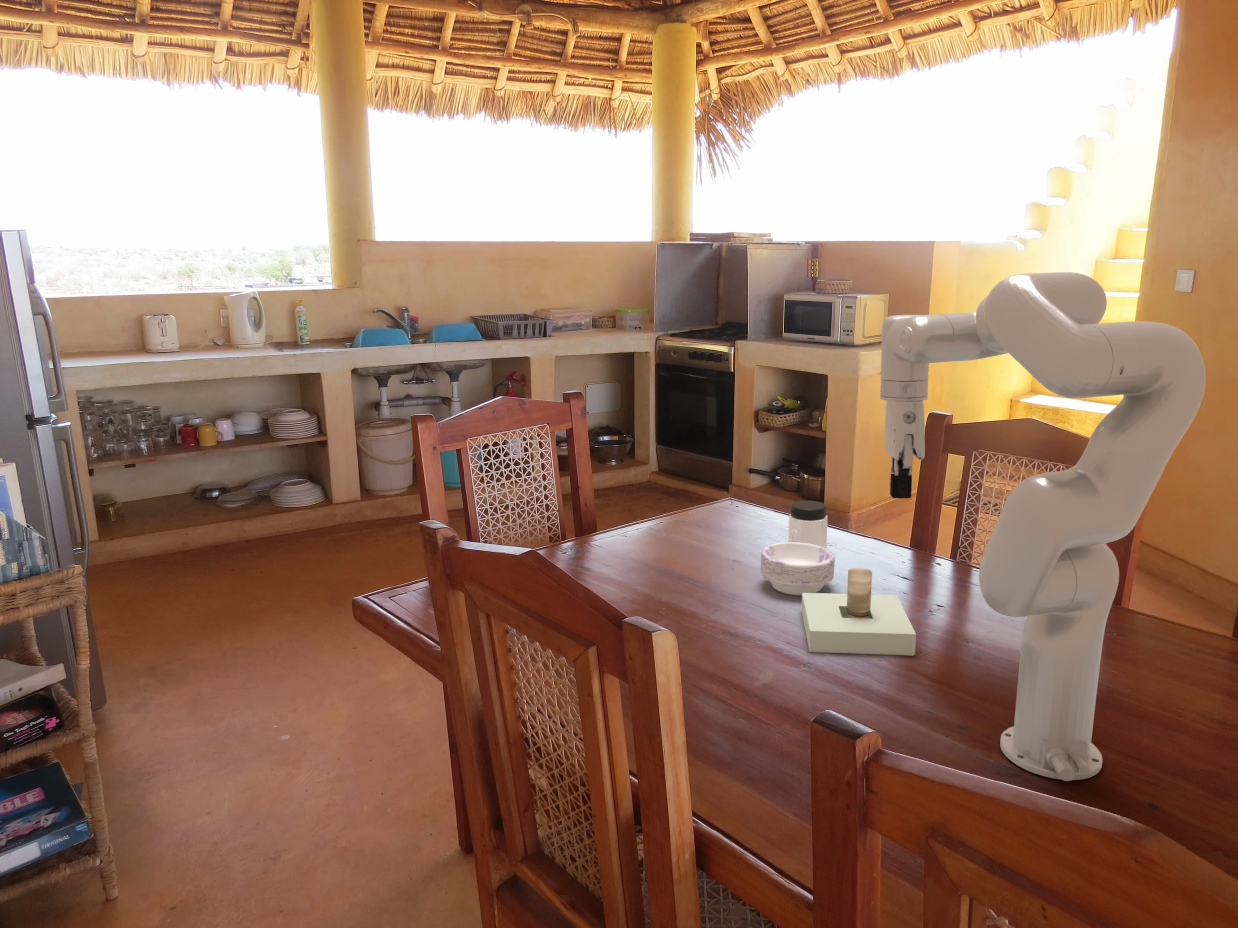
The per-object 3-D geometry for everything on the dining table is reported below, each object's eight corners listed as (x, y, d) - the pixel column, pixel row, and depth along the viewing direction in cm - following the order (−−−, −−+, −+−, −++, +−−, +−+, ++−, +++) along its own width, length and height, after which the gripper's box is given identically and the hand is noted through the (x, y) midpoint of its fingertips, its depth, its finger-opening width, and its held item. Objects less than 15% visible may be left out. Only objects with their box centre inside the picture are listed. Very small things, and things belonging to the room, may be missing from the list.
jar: (781, 551, 203) (782, 503, 201) (808, 545, 207) (809, 498, 204) (806, 562, 196) (807, 512, 193) (833, 556, 199) (835, 506, 197)
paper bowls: (848, 594, 176) (850, 557, 175) (785, 606, 171) (786, 569, 169) (806, 571, 190) (807, 537, 188) (747, 581, 185) (747, 546, 183)
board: (914, 655, 148) (916, 634, 147) (809, 651, 151) (810, 630, 150) (895, 614, 166) (896, 595, 165) (801, 611, 168) (802, 592, 167)
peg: (871, 638, 155) (874, 576, 153) (846, 637, 156) (849, 575, 153) (867, 628, 160) (870, 568, 157) (844, 627, 160) (846, 567, 158)
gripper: (938, 395, 134) (934, 508, 138) (917, 384, 149) (913, 487, 152) (889, 396, 135) (886, 508, 139) (872, 385, 149) (870, 487, 153)
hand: (900, 496), depth 145 cm, fingers closed
